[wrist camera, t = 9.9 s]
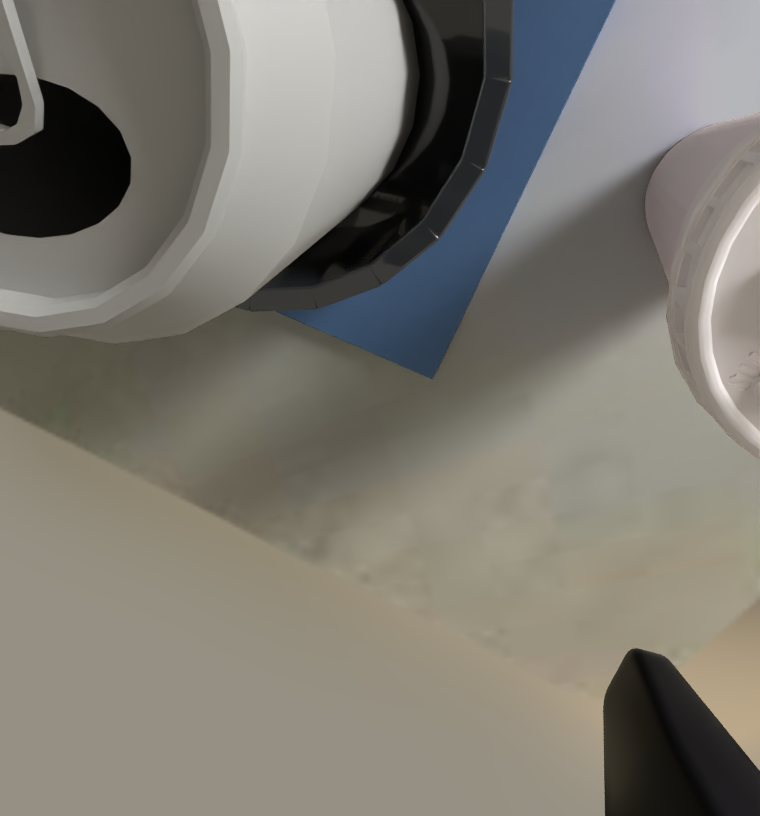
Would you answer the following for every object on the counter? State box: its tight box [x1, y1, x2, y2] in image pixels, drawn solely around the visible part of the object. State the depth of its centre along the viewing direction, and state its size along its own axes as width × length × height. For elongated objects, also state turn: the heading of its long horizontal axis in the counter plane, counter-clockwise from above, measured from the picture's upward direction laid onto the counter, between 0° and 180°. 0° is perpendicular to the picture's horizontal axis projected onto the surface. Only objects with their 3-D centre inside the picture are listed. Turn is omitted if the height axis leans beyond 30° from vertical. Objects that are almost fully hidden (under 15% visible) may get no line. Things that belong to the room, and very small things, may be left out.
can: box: [0, 0, 420, 344], centre depth 12 cm, size 8×8×12 cm
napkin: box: [276, 0, 615, 379], centre depth 17 cm, size 14×14×1 cm
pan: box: [235, 0, 514, 312], centre depth 15 cm, size 11×11×4 cm
